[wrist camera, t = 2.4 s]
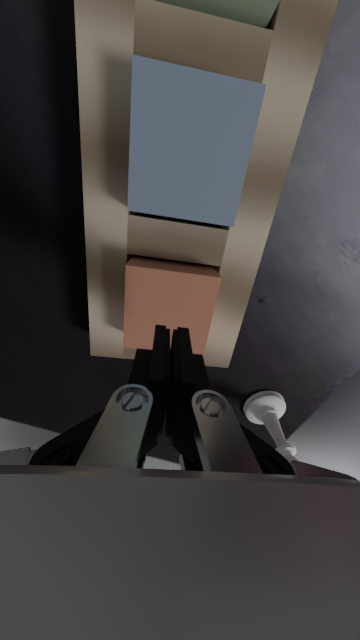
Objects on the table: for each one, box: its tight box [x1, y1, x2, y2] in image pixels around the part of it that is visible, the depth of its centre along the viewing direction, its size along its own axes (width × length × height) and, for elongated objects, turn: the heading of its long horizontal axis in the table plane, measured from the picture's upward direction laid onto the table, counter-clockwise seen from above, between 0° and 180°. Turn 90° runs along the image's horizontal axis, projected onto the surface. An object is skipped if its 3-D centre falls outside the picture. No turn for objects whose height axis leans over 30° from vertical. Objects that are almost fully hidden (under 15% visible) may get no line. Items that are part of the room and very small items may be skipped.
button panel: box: [74, 0, 339, 368], centre depth 14 cm, size 29×12×3 cm, turn 172°
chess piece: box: [243, 391, 298, 462], centre depth 22 cm, size 5×5×10 cm
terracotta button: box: [123, 256, 222, 355], centre depth 16 cm, size 6×6×3 cm
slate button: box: [127, 54, 266, 227], centre depth 12 cm, size 6×6×3 cm
